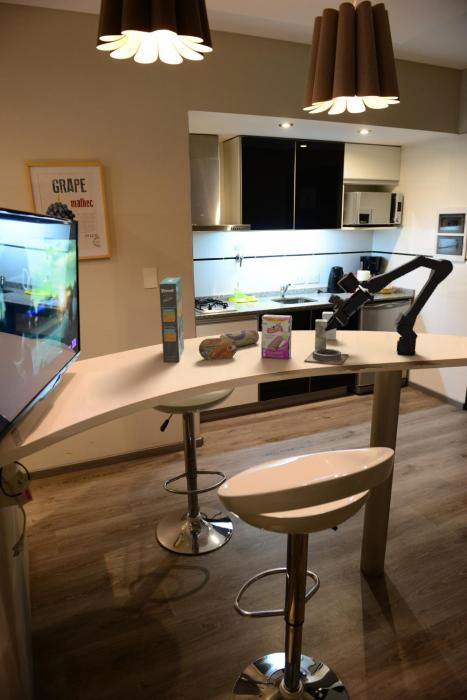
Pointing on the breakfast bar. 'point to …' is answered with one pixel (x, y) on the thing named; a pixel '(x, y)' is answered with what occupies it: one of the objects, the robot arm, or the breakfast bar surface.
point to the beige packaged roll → (243, 337)
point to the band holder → (326, 357)
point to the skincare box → (326, 316)
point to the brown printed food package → (217, 348)
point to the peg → (320, 334)
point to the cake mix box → (171, 319)
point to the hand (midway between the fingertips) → (325, 328)
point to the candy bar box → (276, 336)
